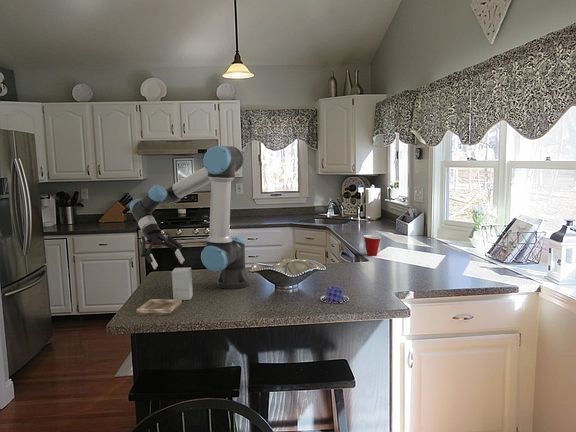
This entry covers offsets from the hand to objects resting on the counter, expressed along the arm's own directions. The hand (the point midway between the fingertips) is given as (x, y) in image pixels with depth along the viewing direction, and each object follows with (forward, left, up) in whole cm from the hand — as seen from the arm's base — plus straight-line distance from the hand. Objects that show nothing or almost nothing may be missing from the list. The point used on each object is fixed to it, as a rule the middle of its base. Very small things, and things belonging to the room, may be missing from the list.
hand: (169, 264), depth 206 cm
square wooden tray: (-3, +21, -13) cm, 25 cm away
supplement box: (-7, +5, -14) cm, 16 cm away
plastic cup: (-93, -88, -14) cm, 129 cm away
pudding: (-72, +4, -14) cm, 73 cm away
